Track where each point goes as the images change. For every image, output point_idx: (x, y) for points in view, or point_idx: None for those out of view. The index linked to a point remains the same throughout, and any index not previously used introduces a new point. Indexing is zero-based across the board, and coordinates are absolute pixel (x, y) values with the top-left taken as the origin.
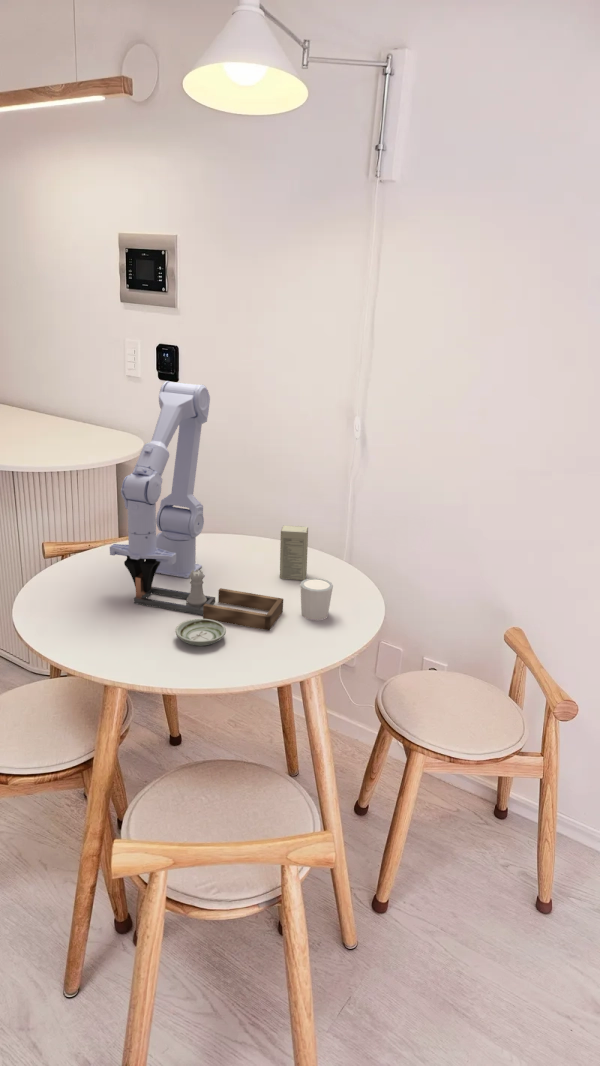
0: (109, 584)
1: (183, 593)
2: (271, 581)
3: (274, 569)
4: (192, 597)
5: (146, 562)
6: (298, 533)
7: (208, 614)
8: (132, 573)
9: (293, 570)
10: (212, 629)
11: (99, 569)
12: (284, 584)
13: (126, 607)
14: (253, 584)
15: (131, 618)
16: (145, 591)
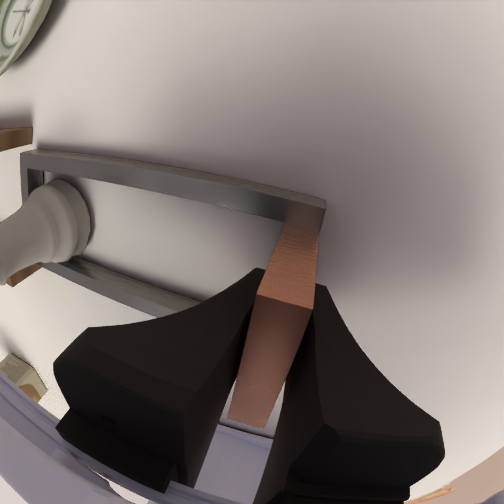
0: (449, 372)
1: (110, 286)
2: (35, 360)
3: (62, 403)
4: (33, 205)
5: (142, 438)
6: None
7: (8, 130)
8: (348, 358)
9: (9, 370)
10: (2, 56)
11: (458, 437)
12: (17, 344)
13: (354, 146)
14: (46, 353)
15: (282, 23)
16: (262, 270)
